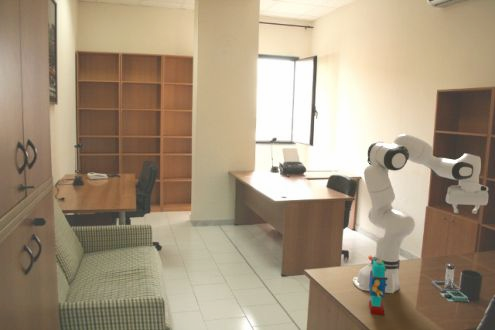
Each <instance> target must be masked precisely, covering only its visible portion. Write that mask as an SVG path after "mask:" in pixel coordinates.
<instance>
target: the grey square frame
mask: <svg viewBox="0 0 495 330" xmlns="http://www.w3.org/2000/svg"><path fill="white" fill-rule="evenodd" d="M431 284H432V285H433V286H435V288H437V289H438V290H439V291H440V292H443V293H446V291H459V288H460V287H459V286H458V285H456V284H455V283H454V282H453V288H452V289H447V288H442V287H441V286H440V285H443V284H444V285H445V280H431ZM438 284H439V285H438Z"/></svg>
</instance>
